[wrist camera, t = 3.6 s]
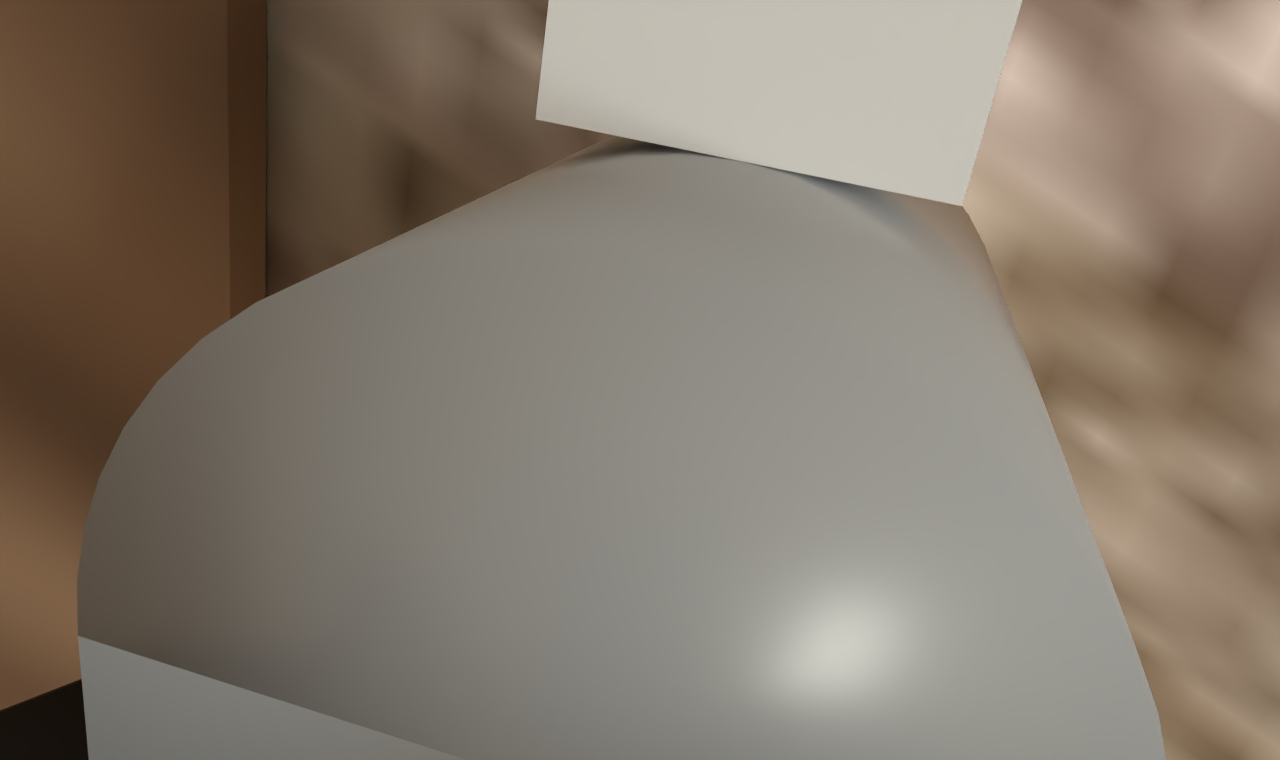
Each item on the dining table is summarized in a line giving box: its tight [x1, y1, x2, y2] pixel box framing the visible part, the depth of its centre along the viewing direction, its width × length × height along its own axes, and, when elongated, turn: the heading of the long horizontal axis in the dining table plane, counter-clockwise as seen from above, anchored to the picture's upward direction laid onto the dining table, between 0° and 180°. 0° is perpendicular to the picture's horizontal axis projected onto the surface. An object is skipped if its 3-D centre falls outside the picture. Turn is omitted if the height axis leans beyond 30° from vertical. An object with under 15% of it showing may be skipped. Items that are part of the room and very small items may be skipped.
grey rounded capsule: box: [77, 0, 1166, 760], centre depth 6 cm, size 11×4×5 cm, turn 171°
